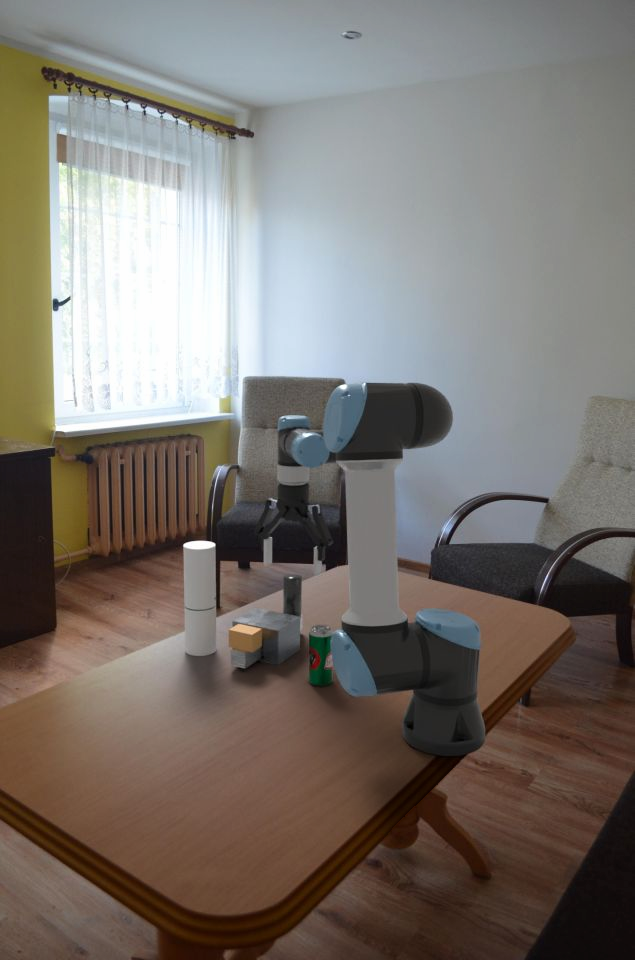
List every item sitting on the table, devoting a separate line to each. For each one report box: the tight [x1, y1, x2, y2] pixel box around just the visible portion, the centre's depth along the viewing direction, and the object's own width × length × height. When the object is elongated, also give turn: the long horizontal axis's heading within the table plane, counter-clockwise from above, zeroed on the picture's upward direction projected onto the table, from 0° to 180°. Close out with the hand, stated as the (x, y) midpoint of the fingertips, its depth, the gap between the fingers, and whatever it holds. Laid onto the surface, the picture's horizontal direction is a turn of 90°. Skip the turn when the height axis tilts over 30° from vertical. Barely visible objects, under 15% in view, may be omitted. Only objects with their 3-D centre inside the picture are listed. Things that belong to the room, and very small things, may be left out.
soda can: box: [307, 624, 334, 687], centre depth 167 cm, size 5×5×12 cm
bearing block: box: [231, 607, 301, 666], centre depth 183 cm, size 10×12×8 cm
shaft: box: [230, 573, 304, 669], centre depth 183 cm, size 26×4×14 cm, turn 153°
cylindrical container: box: [182, 540, 217, 657], centre depth 182 cm, size 7×7×25 cm
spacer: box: [228, 624, 262, 652], centre depth 174 cm, size 4×6×4 cm, turn 63°
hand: (292, 568), depth 191 cm, fingers open, 13 cm apart
